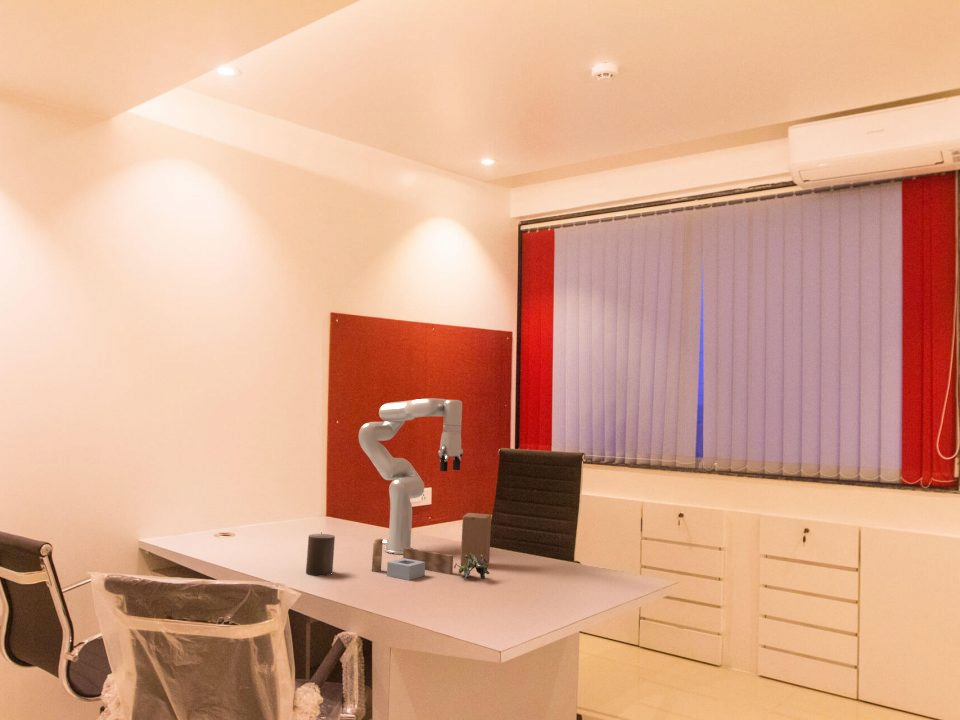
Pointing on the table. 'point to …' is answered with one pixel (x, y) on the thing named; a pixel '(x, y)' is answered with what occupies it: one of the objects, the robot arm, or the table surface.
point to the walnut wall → (431, 560)
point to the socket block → (406, 569)
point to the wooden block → (475, 537)
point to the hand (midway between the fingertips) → (450, 470)
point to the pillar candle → (320, 554)
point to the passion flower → (476, 563)
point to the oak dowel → (377, 555)
